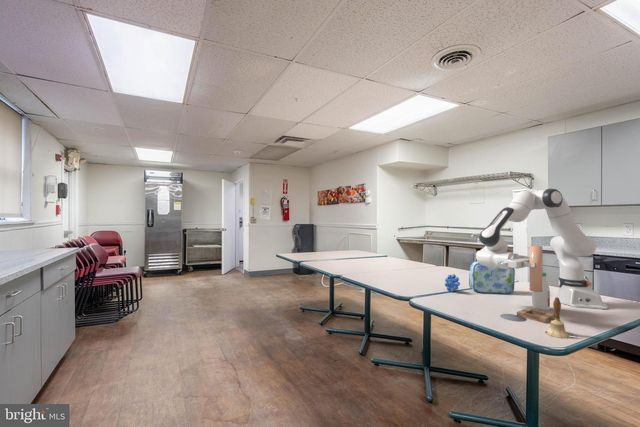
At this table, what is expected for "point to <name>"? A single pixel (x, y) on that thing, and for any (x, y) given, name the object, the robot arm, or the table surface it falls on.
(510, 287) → the lunch box
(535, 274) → the tall peach cylinder
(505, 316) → the disc
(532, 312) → the pocket block
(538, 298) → the milk bottle
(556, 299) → the hand bell
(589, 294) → the robot arm
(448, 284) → the grapes
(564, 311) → the table surface
